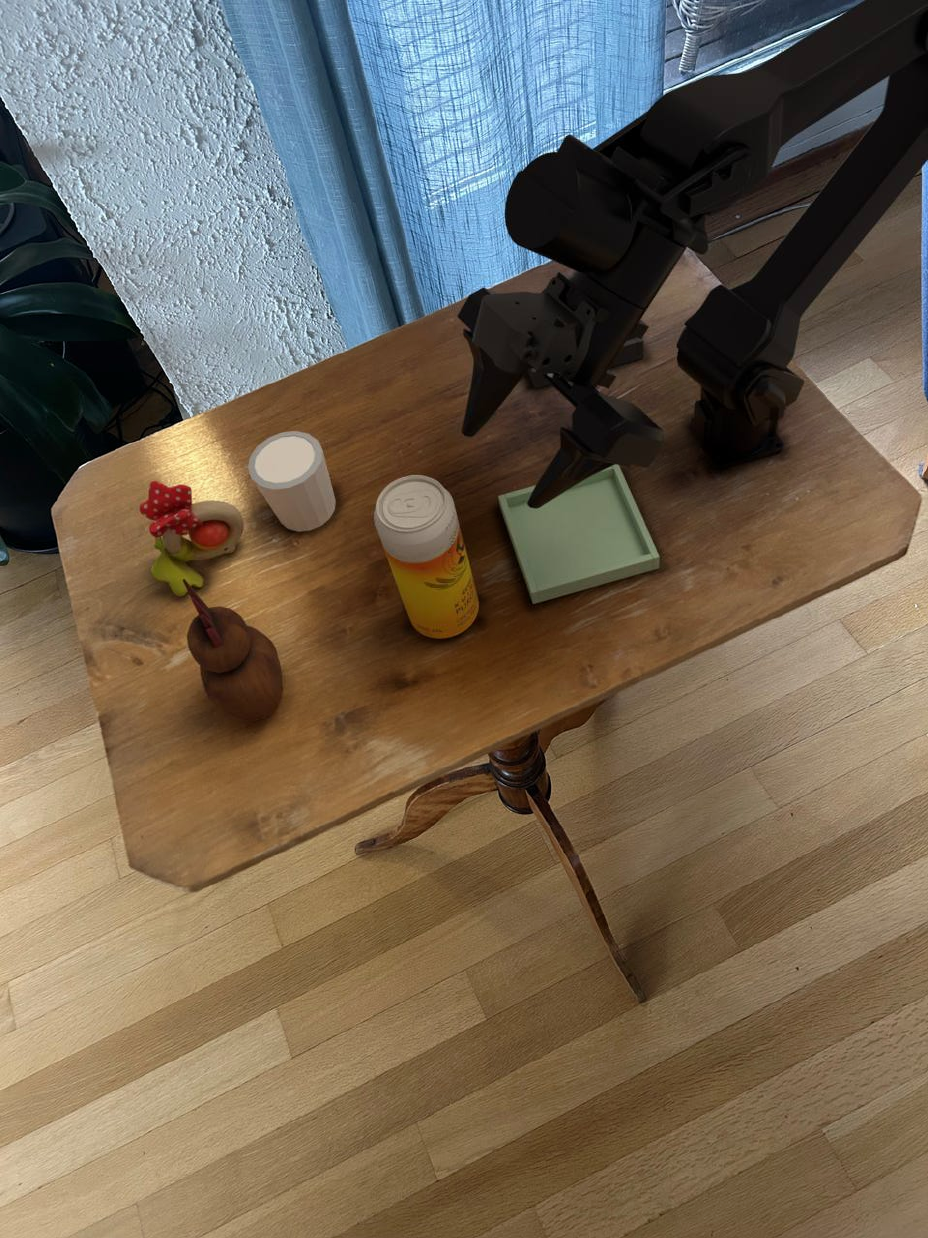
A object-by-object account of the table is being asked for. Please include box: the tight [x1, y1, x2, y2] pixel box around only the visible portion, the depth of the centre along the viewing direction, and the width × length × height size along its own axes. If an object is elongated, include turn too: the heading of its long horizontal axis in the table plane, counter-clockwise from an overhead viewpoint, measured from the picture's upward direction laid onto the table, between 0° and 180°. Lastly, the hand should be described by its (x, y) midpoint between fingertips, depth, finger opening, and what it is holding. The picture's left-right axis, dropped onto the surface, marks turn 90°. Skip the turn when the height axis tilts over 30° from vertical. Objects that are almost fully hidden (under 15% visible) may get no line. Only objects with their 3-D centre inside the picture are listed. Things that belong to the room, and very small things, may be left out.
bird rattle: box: [139, 480, 245, 597], centre depth 88 cm, size 6×11×9 cm
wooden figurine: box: [182, 579, 284, 722], centre depth 77 cm, size 7×6×15 cm
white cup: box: [247, 430, 336, 533], centre depth 91 cm, size 7×7×7 cm
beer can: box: [373, 474, 480, 639], centre depth 79 cm, size 6×6×15 cm
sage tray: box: [497, 464, 660, 605], centre depth 87 cm, size 11×11×2 cm
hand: (498, 469), depth 75 cm, fingers open, 9 cm apart
